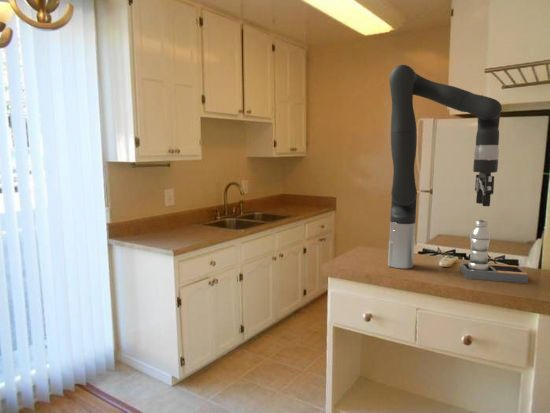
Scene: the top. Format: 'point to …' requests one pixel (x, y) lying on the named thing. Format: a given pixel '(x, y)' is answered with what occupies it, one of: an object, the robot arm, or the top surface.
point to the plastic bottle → (479, 246)
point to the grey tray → (496, 273)
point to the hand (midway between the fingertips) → (482, 204)
